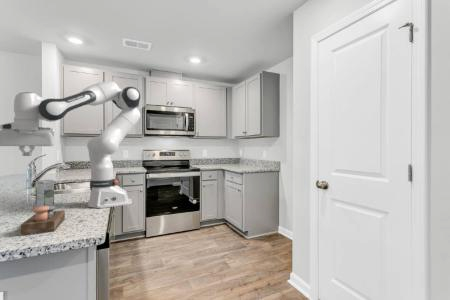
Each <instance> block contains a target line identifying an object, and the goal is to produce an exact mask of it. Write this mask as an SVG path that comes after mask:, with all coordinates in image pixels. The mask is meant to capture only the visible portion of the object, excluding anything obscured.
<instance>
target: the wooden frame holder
mask: <svg viewBox="0 0 450 300" xmlns="http://www.w3.org/2000/svg"><path fill="white" fill-rule="evenodd" d="M65 219H66V210H56V211H55V210H54V215H48V216H47V221H40V222H35V214H34V215H32V216H31V217H30V218H28V219H27V220H25V221H24V222H22V223H21V224H20V236H21V237H22V236H30V235H38V234H45V233H53V232H55V231H56V230H57V229H58V228H59V227H60V225H61V224H62V223H63V222H64V221H65Z"/></svg>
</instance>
